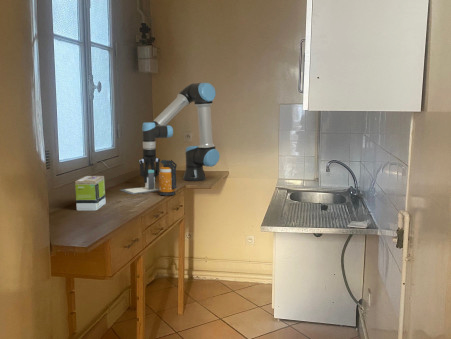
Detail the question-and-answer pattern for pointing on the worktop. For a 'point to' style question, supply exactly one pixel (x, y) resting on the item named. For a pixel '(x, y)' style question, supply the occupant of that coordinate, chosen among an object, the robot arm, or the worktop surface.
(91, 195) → the tea box
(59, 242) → the worktop surface
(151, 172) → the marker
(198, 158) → the robot arm
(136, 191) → the paper
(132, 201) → the worktop surface
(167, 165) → the canister
